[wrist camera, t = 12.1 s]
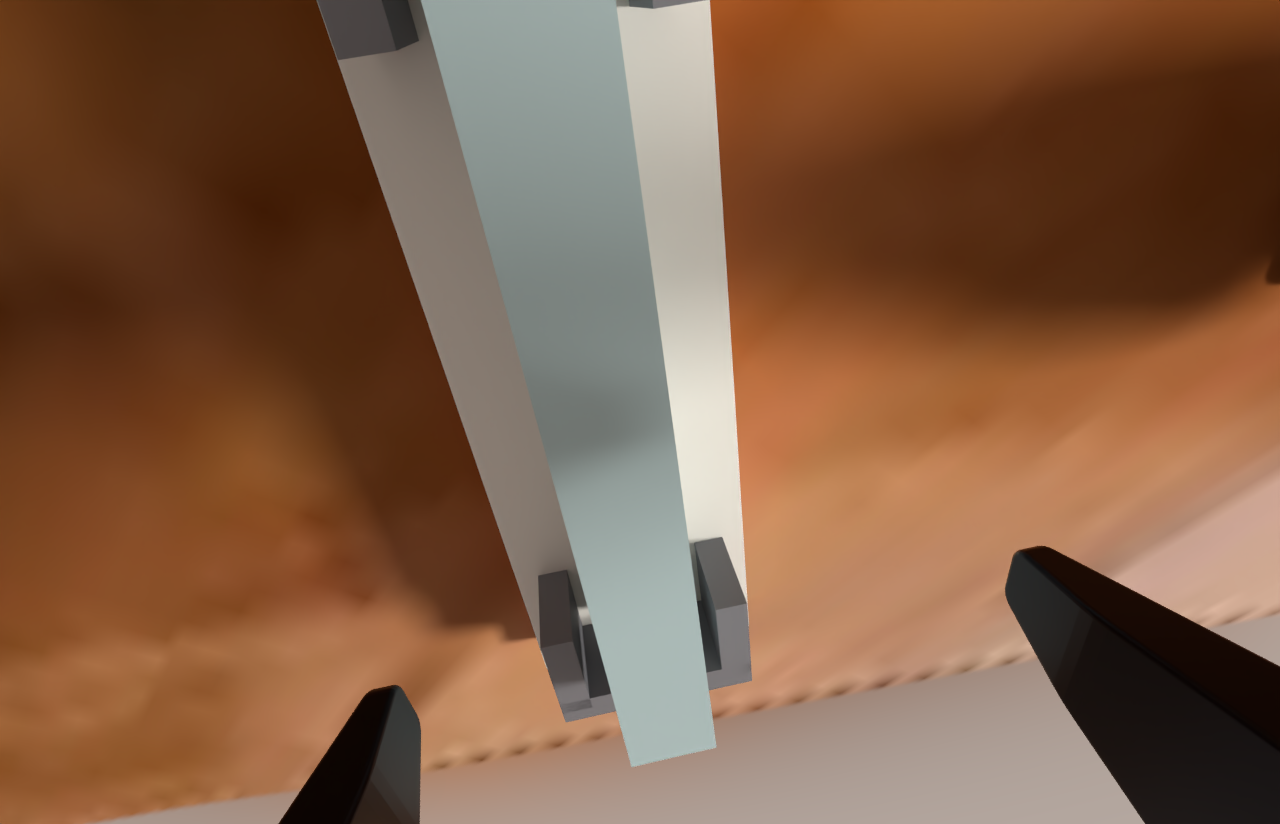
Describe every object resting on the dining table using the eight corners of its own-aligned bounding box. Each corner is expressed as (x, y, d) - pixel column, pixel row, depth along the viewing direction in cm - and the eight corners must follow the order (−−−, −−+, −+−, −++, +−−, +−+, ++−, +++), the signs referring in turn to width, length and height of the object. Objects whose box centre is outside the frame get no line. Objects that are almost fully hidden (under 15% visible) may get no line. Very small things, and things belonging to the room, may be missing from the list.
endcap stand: (671, -313, 13) (735, -444, 9) (738, 595, 27) (773, 693, 23) (249, -256, 12) (128, -368, 8) (545, 637, 26) (550, 743, 23)
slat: (565, -95, 13) (594, -152, 8) (675, 590, 24) (716, 747, 19) (439, -74, 13) (388, -120, 8) (608, 604, 24) (631, 767, 19)
